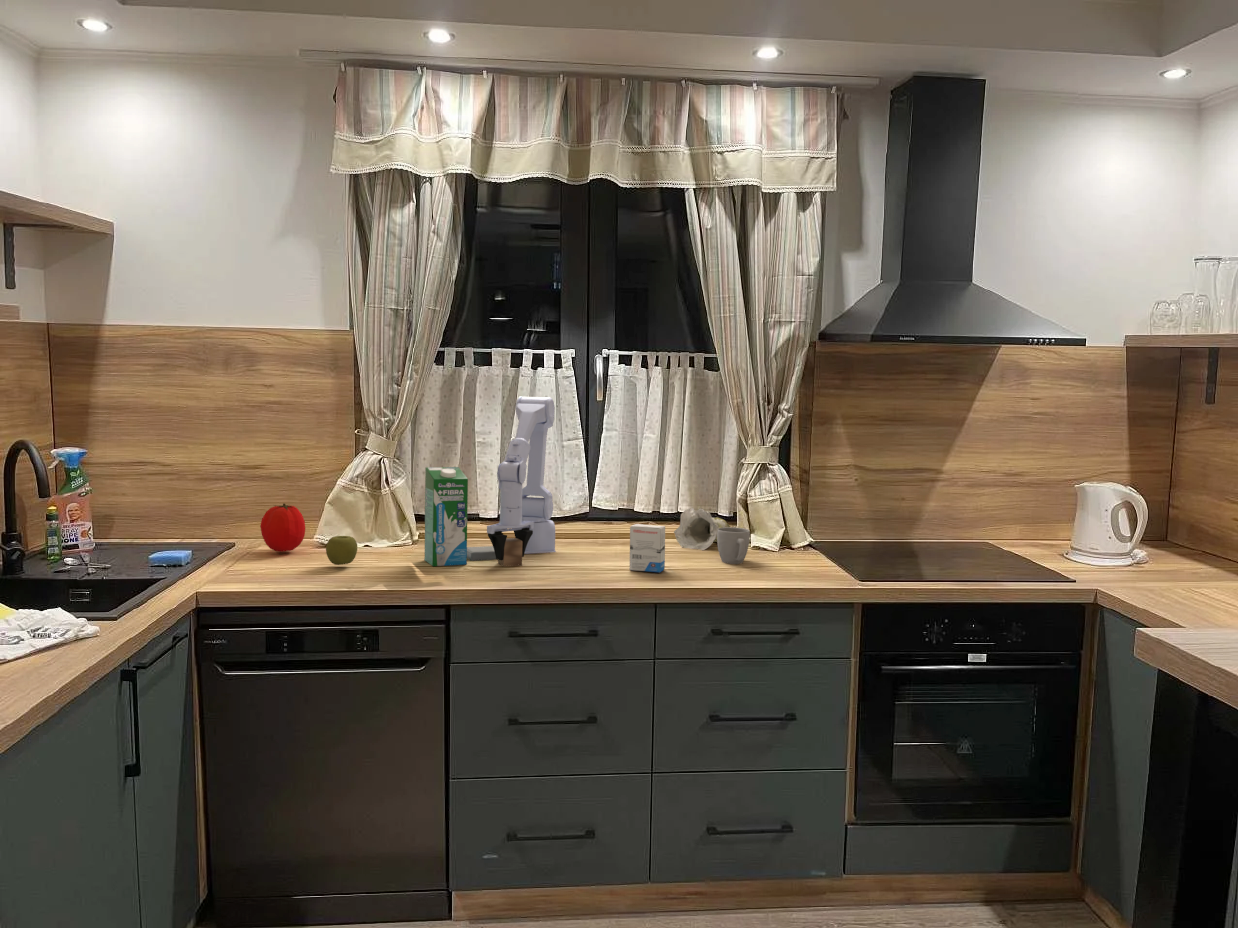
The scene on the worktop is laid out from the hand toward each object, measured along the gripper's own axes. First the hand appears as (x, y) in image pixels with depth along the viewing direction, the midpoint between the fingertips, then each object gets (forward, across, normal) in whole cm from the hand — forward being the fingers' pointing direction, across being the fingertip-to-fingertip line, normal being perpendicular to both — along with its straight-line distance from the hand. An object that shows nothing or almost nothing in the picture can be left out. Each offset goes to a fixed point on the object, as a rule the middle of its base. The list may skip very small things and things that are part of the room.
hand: (510, 558), depth 246 cm
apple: (+2, +34, -27) cm, 43 cm away
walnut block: (+2, 0, 0) cm, 2 cm away
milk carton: (+2, +12, -12) cm, 17 cm away
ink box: (+2, -23, +28) cm, 36 cm away
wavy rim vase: (+4, -55, +21) cm, 59 cm away
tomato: (+2, +36, -52) cm, 64 cm away
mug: (+2, -46, +40) cm, 61 cm away
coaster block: (+2, -1, -13) cm, 13 cm away
